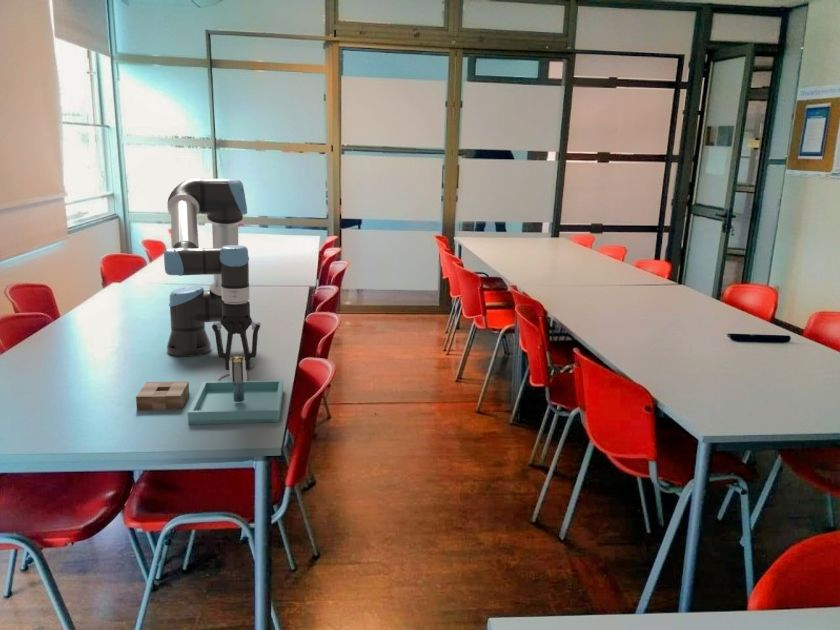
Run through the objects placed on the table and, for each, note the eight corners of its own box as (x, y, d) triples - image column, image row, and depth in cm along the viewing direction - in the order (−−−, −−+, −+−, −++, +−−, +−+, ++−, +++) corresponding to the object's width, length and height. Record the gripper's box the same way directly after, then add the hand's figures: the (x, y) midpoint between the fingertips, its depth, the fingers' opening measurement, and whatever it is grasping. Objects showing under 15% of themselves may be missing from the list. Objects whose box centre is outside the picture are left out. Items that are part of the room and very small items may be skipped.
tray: (203, 392, 197) (202, 381, 196) (283, 390, 201) (283, 380, 200) (188, 424, 174) (187, 412, 174) (278, 422, 178) (278, 410, 177)
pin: (234, 398, 188) (232, 355, 185) (244, 397, 189) (243, 355, 186) (233, 402, 186) (231, 359, 182) (243, 401, 186) (242, 359, 183)
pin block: (147, 394, 194) (146, 382, 193) (189, 393, 196) (188, 381, 195) (136, 410, 182) (135, 396, 181) (181, 409, 184) (180, 395, 183)
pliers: (215, 382, 205) (226, 362, 224) (215, 385, 205) (226, 364, 224) (247, 382, 206) (255, 362, 225) (247, 385, 206) (255, 364, 225)
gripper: (203, 304, 175) (207, 385, 181) (264, 304, 178) (265, 384, 183) (208, 298, 182) (211, 376, 188) (266, 298, 185) (267, 375, 191)
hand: (238, 380), depth 186 cm, fingers closed on pin, 3 cm apart
